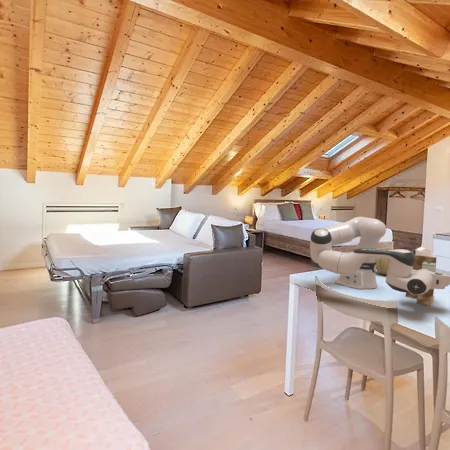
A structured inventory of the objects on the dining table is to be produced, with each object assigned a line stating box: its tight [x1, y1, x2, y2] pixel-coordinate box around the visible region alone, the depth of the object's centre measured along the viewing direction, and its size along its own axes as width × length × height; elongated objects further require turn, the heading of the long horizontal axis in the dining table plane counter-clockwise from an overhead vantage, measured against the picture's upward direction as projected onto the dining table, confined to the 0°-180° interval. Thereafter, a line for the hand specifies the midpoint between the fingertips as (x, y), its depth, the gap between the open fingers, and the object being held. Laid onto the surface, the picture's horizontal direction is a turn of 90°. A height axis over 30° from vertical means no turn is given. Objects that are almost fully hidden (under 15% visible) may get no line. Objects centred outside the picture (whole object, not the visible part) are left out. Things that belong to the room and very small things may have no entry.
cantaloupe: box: [375, 258, 390, 276], centre depth 218 cm, size 15×15×15 cm
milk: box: [415, 243, 432, 257], centre depth 203 cm, size 6×6×22 cm
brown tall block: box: [405, 255, 437, 307], centre depth 172 cm, size 12×16×22 cm
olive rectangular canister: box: [422, 260, 437, 272], centre depth 167 cm, size 5×5×14 cm
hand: (428, 273), depth 168 cm, fingers closed on olive rectangular canister, 5 cm apart
